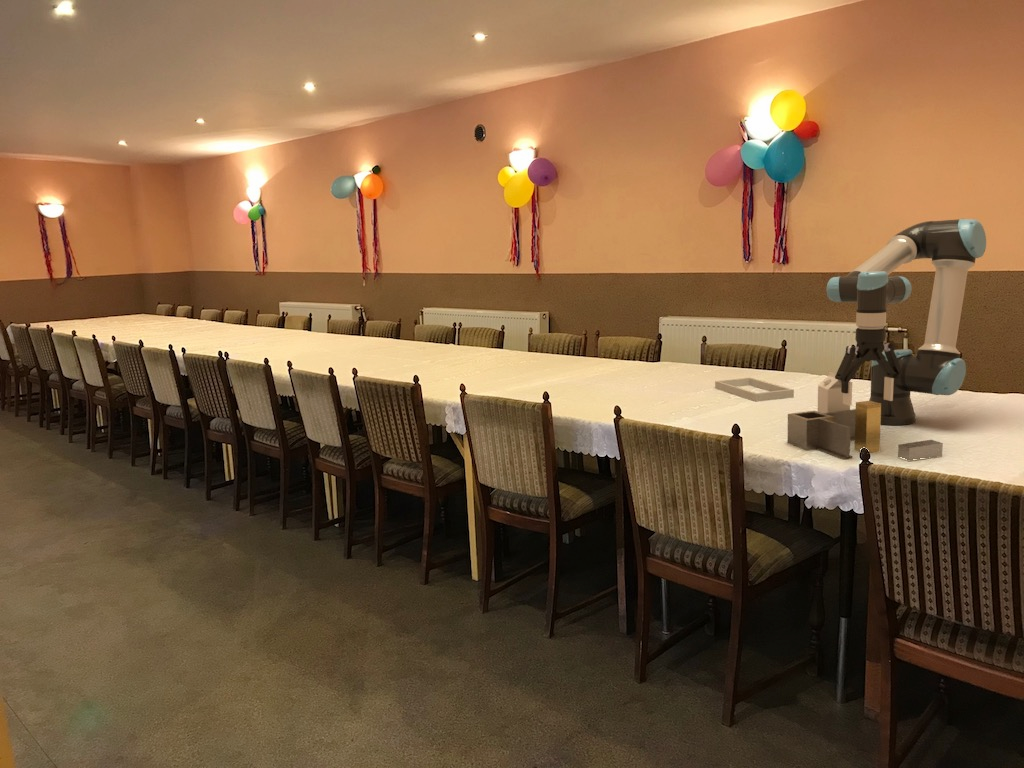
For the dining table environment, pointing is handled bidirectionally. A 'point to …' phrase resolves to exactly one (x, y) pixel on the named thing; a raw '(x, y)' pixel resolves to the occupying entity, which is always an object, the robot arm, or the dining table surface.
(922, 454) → the bar
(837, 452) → the brown box with panels
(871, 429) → the tall golden block
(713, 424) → the dining table surface
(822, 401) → the milk carton
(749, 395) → the parts tray frame
